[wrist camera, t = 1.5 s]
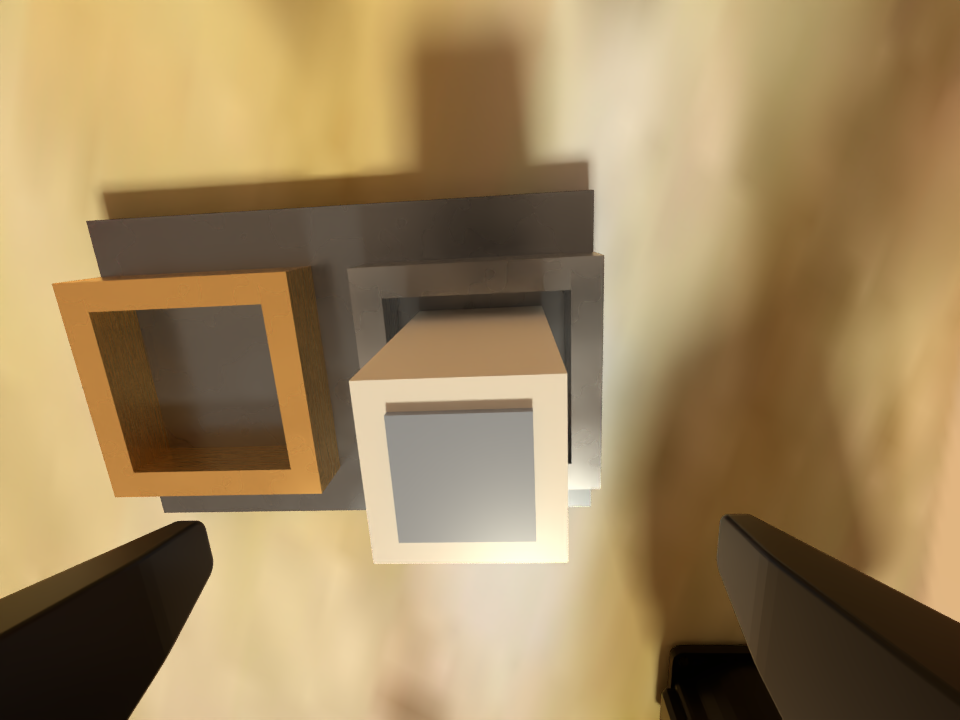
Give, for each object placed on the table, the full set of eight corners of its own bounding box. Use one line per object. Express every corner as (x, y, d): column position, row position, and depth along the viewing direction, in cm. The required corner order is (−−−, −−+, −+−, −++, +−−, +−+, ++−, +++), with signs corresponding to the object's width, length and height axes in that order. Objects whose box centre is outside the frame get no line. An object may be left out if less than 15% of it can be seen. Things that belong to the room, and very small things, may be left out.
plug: (541, 305, 17) (568, 376, 9) (543, 420, 18) (569, 569, 10) (419, 310, 17) (345, 384, 10) (430, 423, 19) (371, 570, 11)
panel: (589, 191, 17) (605, 185, 14) (587, 493, 20) (599, 538, 17) (108, 220, 18) (33, 220, 15) (179, 499, 21) (128, 542, 19)
